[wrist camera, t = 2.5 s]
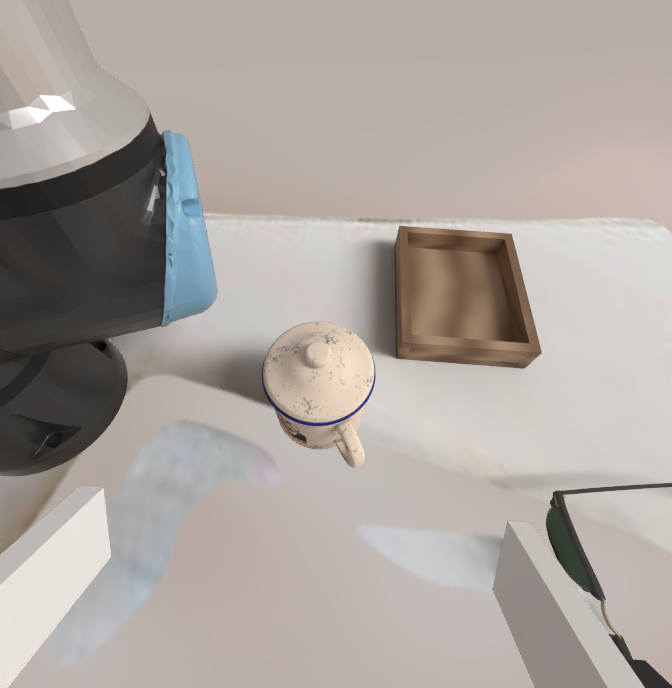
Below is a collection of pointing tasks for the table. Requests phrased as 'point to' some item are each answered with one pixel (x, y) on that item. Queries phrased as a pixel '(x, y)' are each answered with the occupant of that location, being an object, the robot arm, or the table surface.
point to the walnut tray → (461, 299)
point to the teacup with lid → (320, 386)
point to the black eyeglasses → (581, 549)
